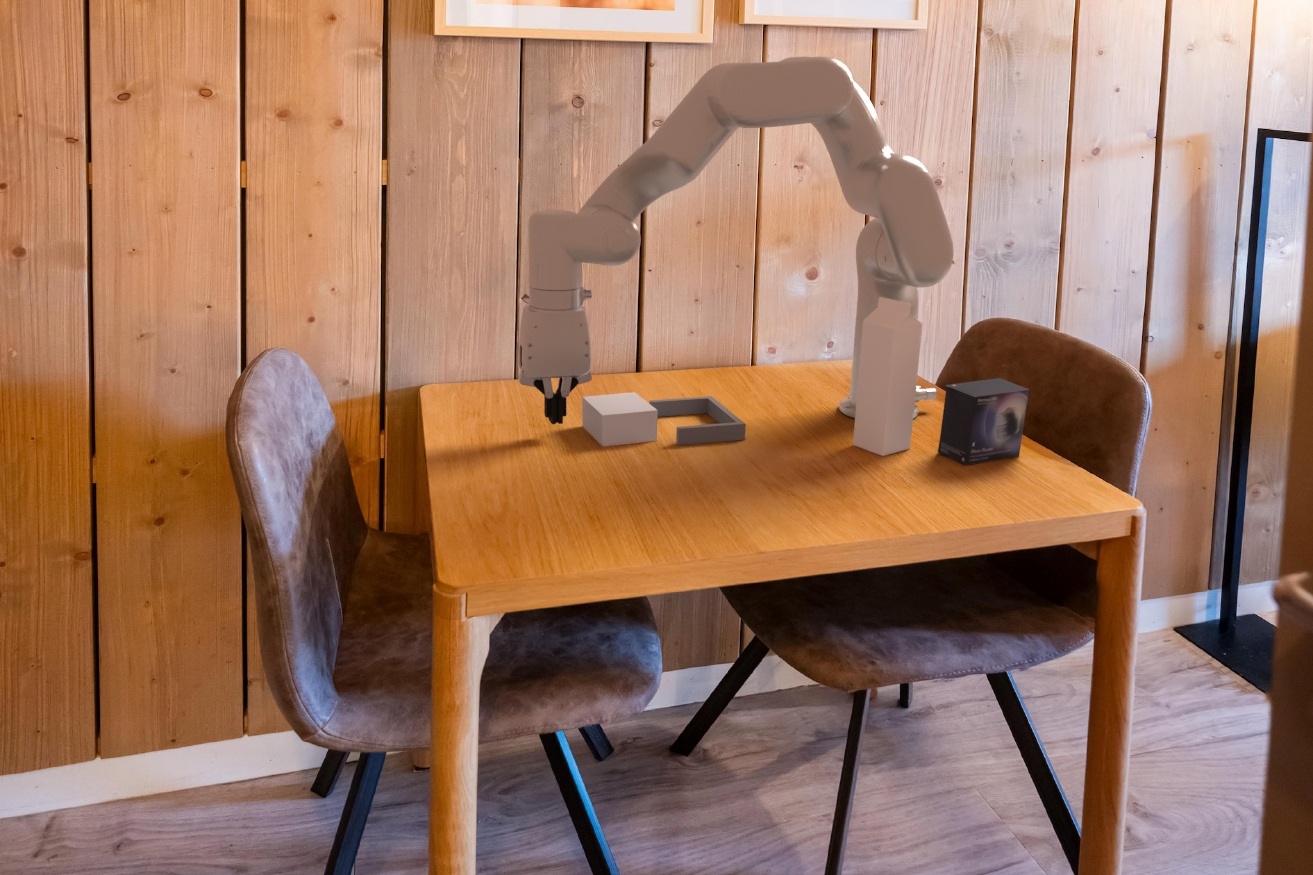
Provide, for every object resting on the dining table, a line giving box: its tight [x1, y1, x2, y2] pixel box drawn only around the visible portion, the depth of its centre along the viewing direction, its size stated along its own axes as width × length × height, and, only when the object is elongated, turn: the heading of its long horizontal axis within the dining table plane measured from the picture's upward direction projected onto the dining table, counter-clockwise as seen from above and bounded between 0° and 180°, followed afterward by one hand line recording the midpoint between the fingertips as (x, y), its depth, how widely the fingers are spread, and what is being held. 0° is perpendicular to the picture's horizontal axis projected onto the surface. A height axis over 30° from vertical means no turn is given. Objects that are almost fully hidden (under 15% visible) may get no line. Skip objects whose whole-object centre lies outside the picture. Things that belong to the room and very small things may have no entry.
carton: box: [581, 391, 658, 447], centre depth 162 cm, size 8×10×5 cm
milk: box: [852, 297, 923, 457], centre depth 155 cm, size 6×6×22 cm
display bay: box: [648, 395, 747, 446], centre depth 165 cm, size 10×15×2 cm
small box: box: [937, 377, 1030, 466], centre depth 154 cm, size 11×6×10 cm, turn 117°
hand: (555, 421), depth 159 cm, fingers closed
